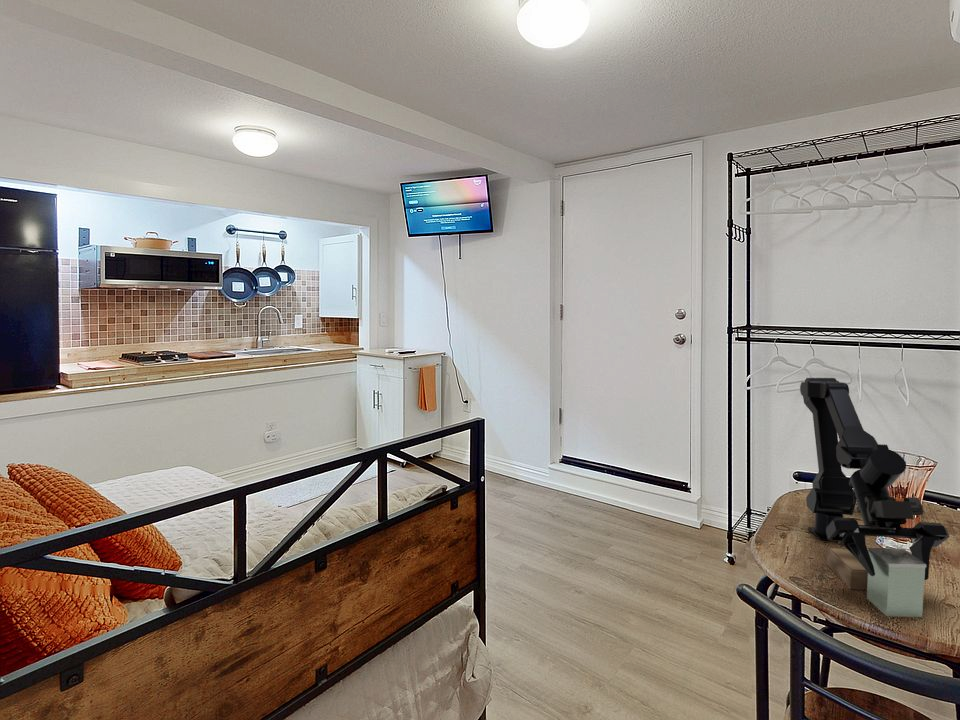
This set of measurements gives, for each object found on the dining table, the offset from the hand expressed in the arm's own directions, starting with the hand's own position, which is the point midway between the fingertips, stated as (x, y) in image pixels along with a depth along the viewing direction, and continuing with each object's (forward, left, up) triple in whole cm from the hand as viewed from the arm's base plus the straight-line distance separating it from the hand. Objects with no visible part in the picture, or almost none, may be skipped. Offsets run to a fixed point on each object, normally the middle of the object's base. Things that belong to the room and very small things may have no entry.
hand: (899, 577), depth 98 cm
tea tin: (-1, 0, -7) cm, 7 cm away
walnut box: (-12, +1, -7) cm, 14 cm away
